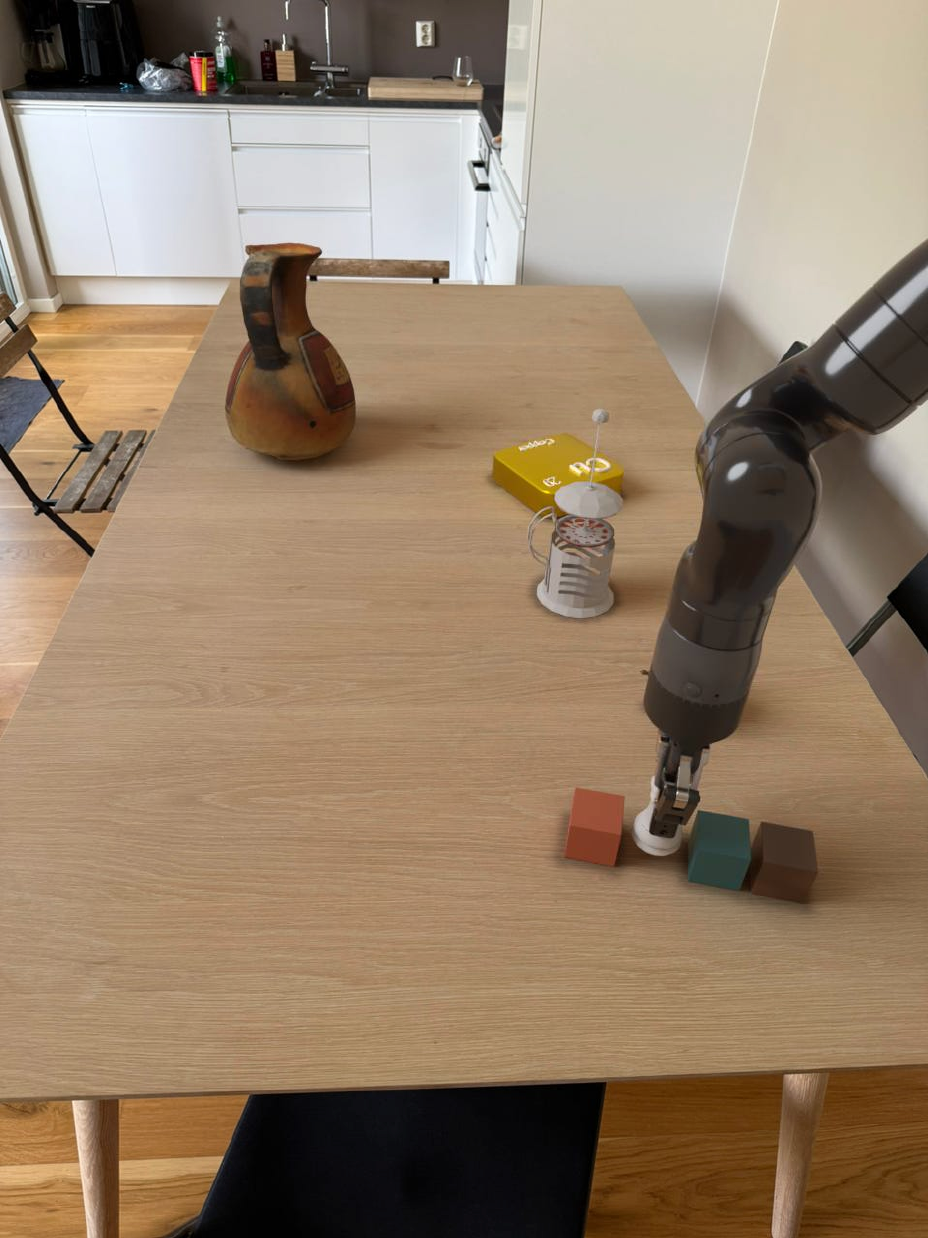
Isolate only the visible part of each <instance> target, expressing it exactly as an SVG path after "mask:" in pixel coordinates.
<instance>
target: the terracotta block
mask: <svg viewBox="0 0 928 1238" xmlns="http://www.w3.org/2000/svg"><path fill="white" fill-rule="evenodd" d="M572 798H573V799H572V804H571V805H572V806H571V810H570V815H569V816H570V817H569V822H568V828H567V829H568V830H567V835H566V841H565V849H564V858H568V859H572V860H577V861H582V862H588V863H593V864H598V865H603V866H609V867H613V868H614V867H615V865H616V861H617V856H618V852H619V847H620V843H621V839H622V835H623V834H622V833H623V823H624V810H625V798H626V797H625V795H619V794H614V793H609V792H603V791H599V790H592V789H587V788H582V787H575V788H574V793H573V797H572Z"/></svg>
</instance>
